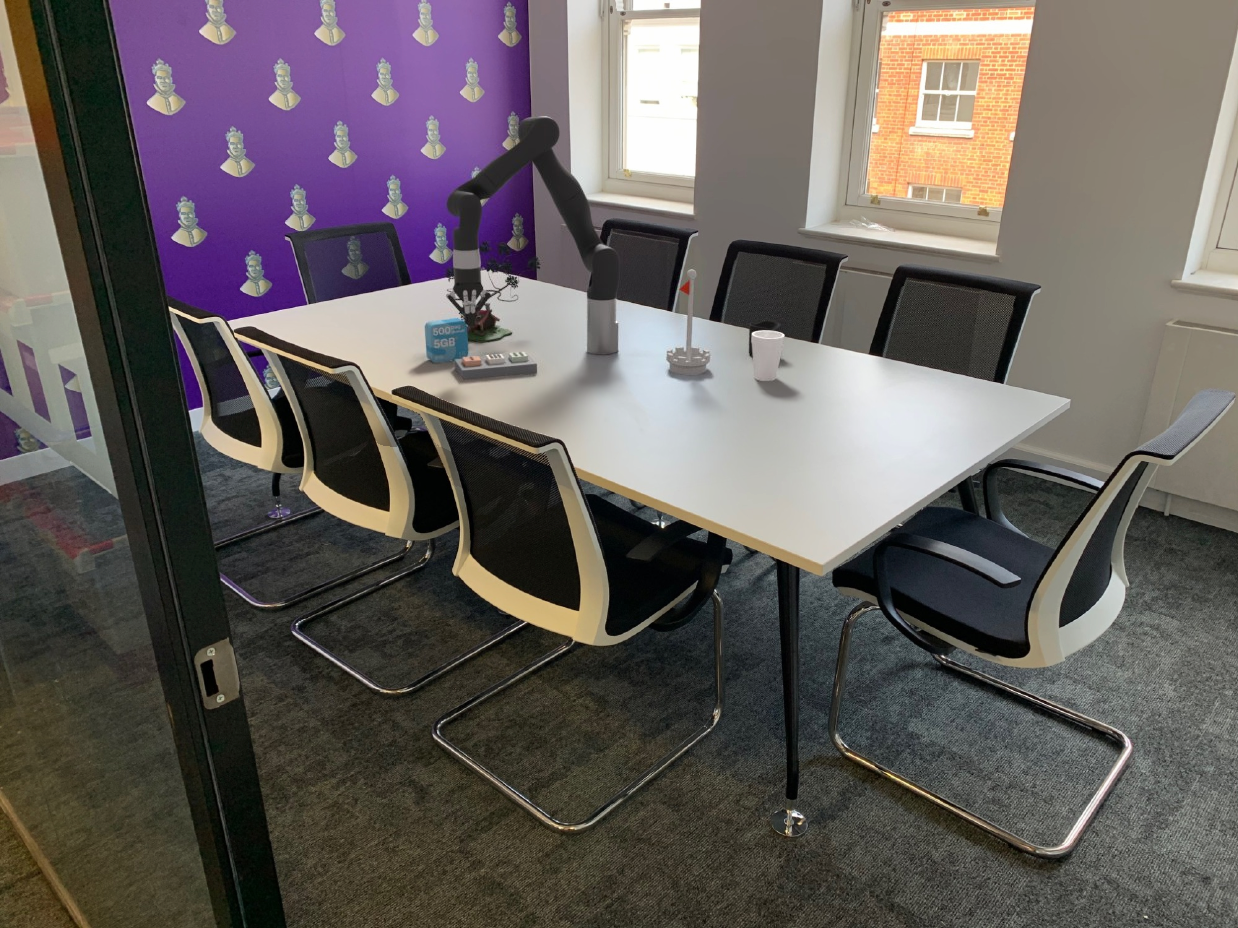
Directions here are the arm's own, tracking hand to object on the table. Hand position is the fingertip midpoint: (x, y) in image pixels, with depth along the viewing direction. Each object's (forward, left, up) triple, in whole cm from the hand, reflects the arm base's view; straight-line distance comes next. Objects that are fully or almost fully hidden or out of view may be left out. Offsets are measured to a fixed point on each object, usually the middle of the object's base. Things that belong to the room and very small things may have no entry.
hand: (469, 325), depth 272 cm
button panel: (-7, 0, -14) cm, 16 cm away
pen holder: (-91, +9, -15) cm, 93 cm away
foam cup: (-80, +31, -15) cm, 87 cm away
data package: (+4, -17, -15) cm, 23 cm away
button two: (-14, 0, -13) cm, 19 cm away
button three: (-7, 0, -13) cm, 15 cm away
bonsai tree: (-17, -40, -15) cm, 46 cm away
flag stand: (-62, +16, -15) cm, 66 cm away
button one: (0, 0, -13) cm, 13 cm away
